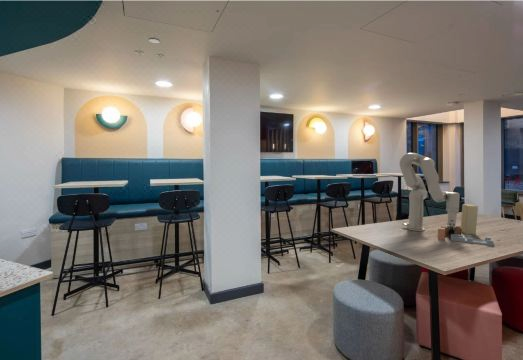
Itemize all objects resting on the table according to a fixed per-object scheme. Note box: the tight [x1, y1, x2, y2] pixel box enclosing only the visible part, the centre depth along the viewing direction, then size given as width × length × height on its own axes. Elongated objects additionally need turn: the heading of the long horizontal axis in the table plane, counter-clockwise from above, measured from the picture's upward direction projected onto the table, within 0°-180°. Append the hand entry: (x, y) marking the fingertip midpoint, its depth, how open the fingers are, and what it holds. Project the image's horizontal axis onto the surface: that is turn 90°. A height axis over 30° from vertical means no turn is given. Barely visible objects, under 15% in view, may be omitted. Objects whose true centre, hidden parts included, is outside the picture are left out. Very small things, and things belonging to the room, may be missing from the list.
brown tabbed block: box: [440, 225, 463, 237], centre depth 201 cm, size 12×5×7 cm, turn 66°
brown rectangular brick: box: [437, 227, 446, 240], centre depth 193 cm, size 4×4×7 cm
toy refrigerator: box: [460, 203, 479, 235], centre depth 206 cm, size 8×7×21 cm
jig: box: [450, 234, 495, 247], centre depth 186 cm, size 22×9×3 cm, turn 57°
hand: (451, 233), depth 201 cm, fingers open, 6 cm apart
